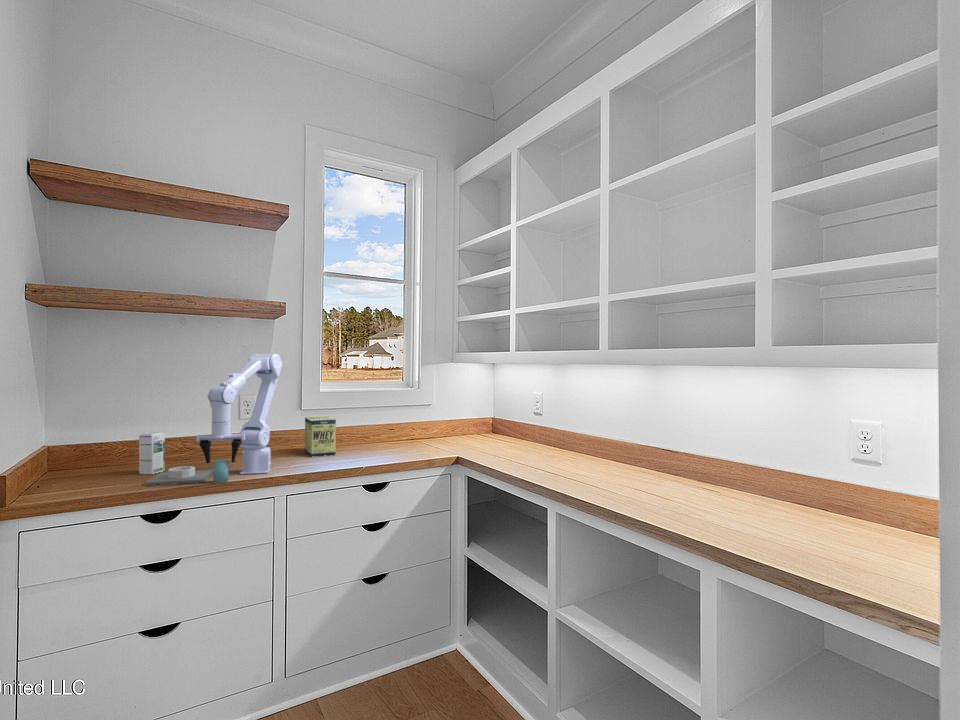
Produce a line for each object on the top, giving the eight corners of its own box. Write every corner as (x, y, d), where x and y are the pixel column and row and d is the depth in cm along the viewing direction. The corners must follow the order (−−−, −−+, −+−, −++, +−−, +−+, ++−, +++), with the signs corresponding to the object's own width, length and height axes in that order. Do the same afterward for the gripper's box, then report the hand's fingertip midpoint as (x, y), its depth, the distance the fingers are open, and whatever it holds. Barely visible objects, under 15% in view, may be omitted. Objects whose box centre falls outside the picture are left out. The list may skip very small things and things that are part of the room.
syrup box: (152, 474, 182) (152, 434, 182) (138, 474, 184) (138, 433, 184) (165, 471, 188) (165, 431, 188) (151, 470, 189) (152, 431, 189)
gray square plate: (214, 472, 187) (214, 463, 187) (202, 482, 171) (202, 472, 171) (161, 475, 182) (161, 465, 182) (144, 485, 167) (144, 474, 167)
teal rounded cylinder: (229, 480, 175) (229, 459, 175) (226, 483, 171) (226, 462, 171) (215, 480, 174) (215, 460, 174) (212, 483, 170) (212, 462, 170)
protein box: (311, 457, 217) (311, 420, 217) (304, 451, 231) (304, 417, 231) (336, 455, 222) (336, 419, 222) (327, 449, 236) (328, 416, 236)
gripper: (194, 423, 167) (193, 465, 167) (242, 422, 171) (242, 463, 170) (199, 421, 174) (199, 461, 174) (246, 420, 177) (245, 459, 177)
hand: (220, 462), depth 172 cm, fingers open, 7 cm apart
